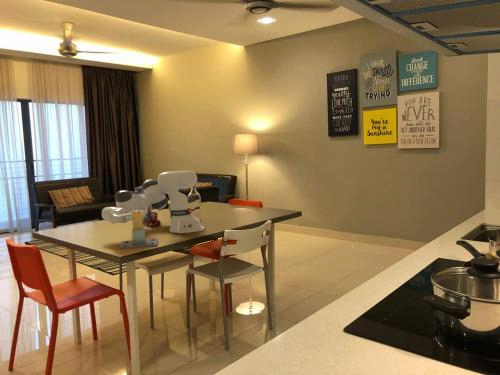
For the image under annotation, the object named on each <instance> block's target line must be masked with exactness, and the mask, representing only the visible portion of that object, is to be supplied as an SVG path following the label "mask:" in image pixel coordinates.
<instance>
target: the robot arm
mask: <svg viewBox="0 0 500 375" xmlns="http://www.w3.org/2000/svg"><path fill="white" fill-rule="evenodd" d="M197 181H198V175H197V173H196V172H195V171H194V170H187V169H186V170H184V169H183V170H171V171H164V172H161V173H159V174H158V176H157V180H156V179H154V178H152V179H151V178H150V179H146V180H145V181H144V182H143V183H142V185H141V186H142V189H143V190H144V192H145V194H146V195H140V194H139V193H138V192H135V190H134V191H132V190H131V191H129V190H125V189H124V190H119V191H117V192H116V194H115V195H114V200H115V205H116V206H105V207H104V208H103V209H102V210H101V217H102V219H103V220H105V221H107V222H110V224H125V223H128V222H129V221H132V220H134V217H132V214H131V212H133V210H136V211H137V210H140V211H141V212H142V218H143V217H145V216H146V212H145V211H144V210H145V209H146V208H147V207H148V206H150V205H151V209H152V208H153V209H155V210H161V209H163V208H165V207H166V206H167V205H168V204H169V205H170V206H169V207H170V209H169V210H170V211H169V217H170V224H169V225H170V227H169V230H168V231H169V232H170V233H173V234H175V233H176V234H189V233H196V232H202V231H204V230H205V227H204V225H201V221H200V219H199V218H198V217H196V216H195V215H193V214H192V213H193V210H192V209H190V208H189V204H188V202H189V201H188V196H187V195H186V194H184V193H182V192H180V191H179V190H183V189H186V188H190V187H193V186H195V185H196V184H197ZM165 194H167V195H168V198H169V200H168V198H167V197H166V195H165Z"/></svg>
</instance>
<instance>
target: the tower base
mask: <svg viewBox="0 0 500 375" xmlns="http://www.w3.org/2000/svg"><path fill="white" fill-rule="evenodd" d="M145 230H146V229H145V228H144V227H143V229H141V230H133V228H132V229H131V236H132V240H124V241H121V243H120V246H119V250H129V249H139V248H152V247H158V242H159V241H158V238H151V239H150V238H149V239H146V231H145Z"/></svg>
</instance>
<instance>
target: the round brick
mask: <svg viewBox="0 0 500 375" xmlns="http://www.w3.org/2000/svg"><path fill="white" fill-rule="evenodd" d="M131 214H132V217H134V220H131V221H132V229H133V230H141V229H143V228H144V222H142V212H141V211H140V210H137V211H136V210H133V212H131Z"/></svg>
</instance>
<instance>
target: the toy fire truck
mask: <svg viewBox="0 0 500 375" xmlns="http://www.w3.org/2000/svg"><path fill="white" fill-rule="evenodd" d="M145 223H146V224H145V225H146V226H147V227H150V228H154V226H156V227H160V226H161V224H162V223H161V220H158V212H155V211H152V212H151V211H149V214H148V221H146V222H145Z"/></svg>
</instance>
